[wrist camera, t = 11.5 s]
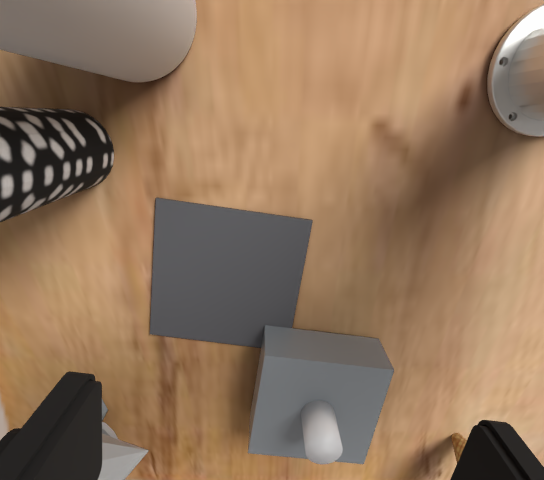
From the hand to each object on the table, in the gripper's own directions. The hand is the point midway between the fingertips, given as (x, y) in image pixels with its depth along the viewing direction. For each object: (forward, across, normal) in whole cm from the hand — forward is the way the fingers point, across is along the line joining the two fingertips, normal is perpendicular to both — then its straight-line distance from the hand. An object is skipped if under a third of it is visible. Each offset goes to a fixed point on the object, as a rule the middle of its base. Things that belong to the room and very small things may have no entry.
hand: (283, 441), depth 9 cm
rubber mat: (+33, +4, +12) cm, 36 cm away
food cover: (+33, -9, +25) cm, 42 cm away
